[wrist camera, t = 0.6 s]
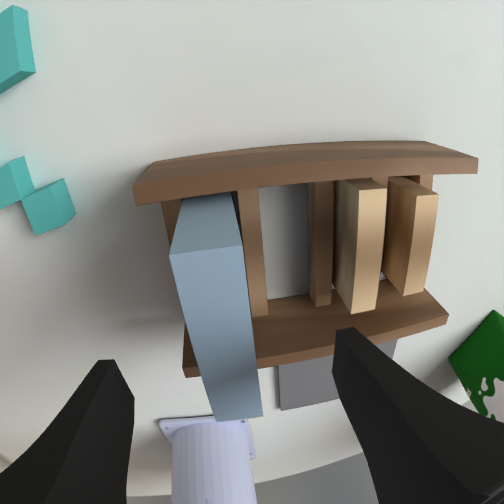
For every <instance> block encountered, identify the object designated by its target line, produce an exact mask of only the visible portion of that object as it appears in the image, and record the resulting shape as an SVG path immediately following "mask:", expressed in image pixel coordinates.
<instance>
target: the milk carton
mask: <svg viewBox="0 0 504 504" xmlns="http://www.w3.org/2000/svg"><path fill="white" fill-rule="evenodd" d="M448 359H449V361H450V363H451V365H452V367H453V368H454V370H455V372H456V374H457V376H458V377H459V379H460V381H461V383H462V385H463V387H464V389H465V391H466V393H467V394H468V396H469V398H470V400H471V401H472V403H473V404H474V406H475V408H476V409H477V411H478V412H479V414H481V415H483V416H486V417H488V418H491V419H494V420H497V421H500V422H503V423H504V317H503V316H502V315H500V314H499V313H498V312H496V311H495V310H493V311H492V312H491V314H490V315H489V316H488V317H487V318H486V319H485V320H484V322H483V323H482V324H481V325H480V326H479V327H478V328H477V329H476V330H475V332H474V333H473V334H472V335H471V336H470V337H469V338H468V339H467V340H466V341H465V342H464V343H463V344H462V345H461V346H460V347H459V348H458V349H457V350H456V351H455V352H454V353H453V354H452V355H451V356H450V357H449V358H448Z"/></svg>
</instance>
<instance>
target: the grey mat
mask: <svg viewBox="0 0 504 504" xmlns="http://www.w3.org/2000/svg"><path fill="white" fill-rule="evenodd" d="M396 343H397V339H395V340H391V341H388V342H384V343H380V344H377V345H376V346H377V347H378V348H379V349H380V350H381V351H383V352H384V353H385V354H386V355H387V356H388V357H390V358H391V359H392V358H393V354H394V350H395V347H396ZM333 357H334V355H330V356H326V357H321V358H316V359H311V360H306V361H301V362H296V363H290V364H285V365H279V366H278V378H279V397H280V409H281V411H283V410H289V409H294V408H299V407H304V406H309V405H313V404H318V403H322V402H327V401H331V400H335V399H339V395H338V391H337V388H336V385H335V382H334V378H333V375H332V366H333Z"/></svg>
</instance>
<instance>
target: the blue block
mask: <svg viewBox="0 0 504 504" xmlns="http://www.w3.org/2000/svg"><path fill="white" fill-rule="evenodd" d="M169 258H170V262H171V266H172V271H173V275H174V279H175V283H176V287H177V291H178V295H179V299H180V303H181V307H182V311H183V314H184V318H185V322H186V325H187V329H188V333H189V336H190V340H191V343H192V347H193V350H194V354H195V357H196V360H197V364H198V367H199V370H200V374H201V377H202V380H203V383H204V387H205V390H206V393H207V396H208V399H209V402H210V405H211V408H212V411H213V414H214V417H215V420H216V422H224V421H233V420H241V419H248V418H255V417H262V416H263V411H262V403H261V395H260V387H259V379H258V371H257V363H256V355H255V347H254V339H253V330H252V322H251V314H250V305H249V297H248V288H247V280H246V271H245V263H244V254H243V246H242V241H241V237H240V232H239V228H238V223H237V219H236V214H235V210H234V205H233V201H232V196H231V192H230V191H229V192H221V193H214V194H207V195H200V196H193V197H186V198H183V202H182V205H181V209H180V213H179V217H178V220H177V224H176V228H175V232H174V236H173V240H172V244H171V249H170V253H169Z"/></svg>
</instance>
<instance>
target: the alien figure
mask: <svg viewBox="0 0 504 504" xmlns="http://www.w3.org/2000/svg"><path fill="white" fill-rule="evenodd" d="M35 72H36V70H35V64H34V58H33V52H32V45H31V38H30V30H29V22H28V12H27V10H25V9H22V8H19V7H17V6H14V5H12V6H10V7H9V8H7V9H6V10H4V11H3V12H1V13H0V94H1V93H2V92H4V91H5V90H7V89H8V88H10V87H12V86H13V85H15V84H17V83H18V82H20V81H22V80H23V79H25V78H27V77H28V76H30V75H32V74H34V73H35ZM19 200H21V201H22V204H23V207H24V209H25V212H26V215H27V217H28V220H29V222H30V225H31V227H32V229H33V232H34V234H35V236H36V235H38V234H41V233H44V232H46V231H49V230H52V229H55V228H57V227H60V226H63V225H65V224H66V223H67V222H68V221H69V220H70V219H71V218H72V217H73V216H74V215H75V214H76V211H75V209H74V206H73V203H72V201H71V198H70V195H69V192H68V189H67V186H66V183H65V181H64V178H63V179H61V180H58V181H56V182H53V183H51V184H49V185H46V186H44V187H42V188H40V189H37V190H35V188H34V186H33V183H32V180H31V177H30V174H29V170H28V167H27V164H26V161H25V158H24V156H23V157H21V158H18V159H16V160H13V161H11V162H9V163H7V164H5V165H3V166H1V167H0V209H2V208H4V207H6V206H8V205H11V204H13V203H15V202H17V201H19Z"/></svg>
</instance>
